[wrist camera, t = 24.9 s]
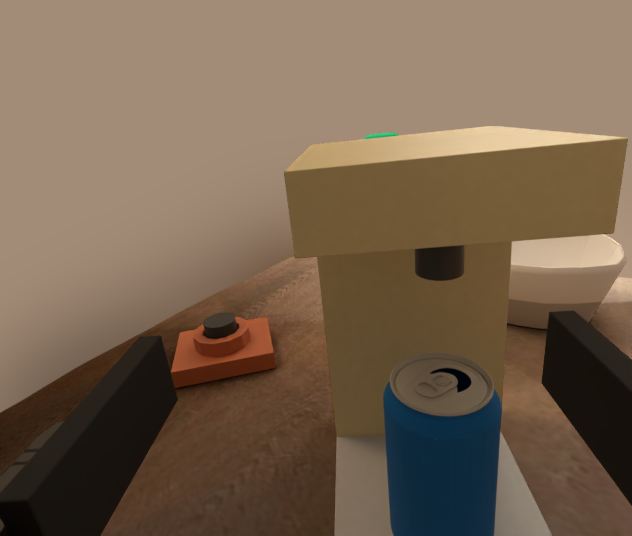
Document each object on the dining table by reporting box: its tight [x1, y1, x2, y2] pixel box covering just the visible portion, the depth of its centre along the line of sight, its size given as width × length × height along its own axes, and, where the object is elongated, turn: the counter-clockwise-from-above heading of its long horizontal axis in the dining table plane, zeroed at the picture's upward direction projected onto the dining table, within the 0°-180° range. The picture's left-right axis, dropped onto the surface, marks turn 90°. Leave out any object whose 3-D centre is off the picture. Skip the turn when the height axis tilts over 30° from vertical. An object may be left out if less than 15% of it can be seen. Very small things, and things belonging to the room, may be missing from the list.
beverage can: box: [383, 353, 502, 536], centre depth 25 cm, size 6×6×12 cm
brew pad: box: [171, 317, 276, 388], centre depth 53 cm, size 12×10×4 cm
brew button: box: [203, 313, 237, 339], centre depth 52 cm, size 4×4×2 cm
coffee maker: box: [284, 126, 628, 536], centre depth 27 cm, size 14×21×26 cm, turn 176°
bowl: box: [507, 234, 626, 329], centre depth 56 cm, size 18×18×9 cm
